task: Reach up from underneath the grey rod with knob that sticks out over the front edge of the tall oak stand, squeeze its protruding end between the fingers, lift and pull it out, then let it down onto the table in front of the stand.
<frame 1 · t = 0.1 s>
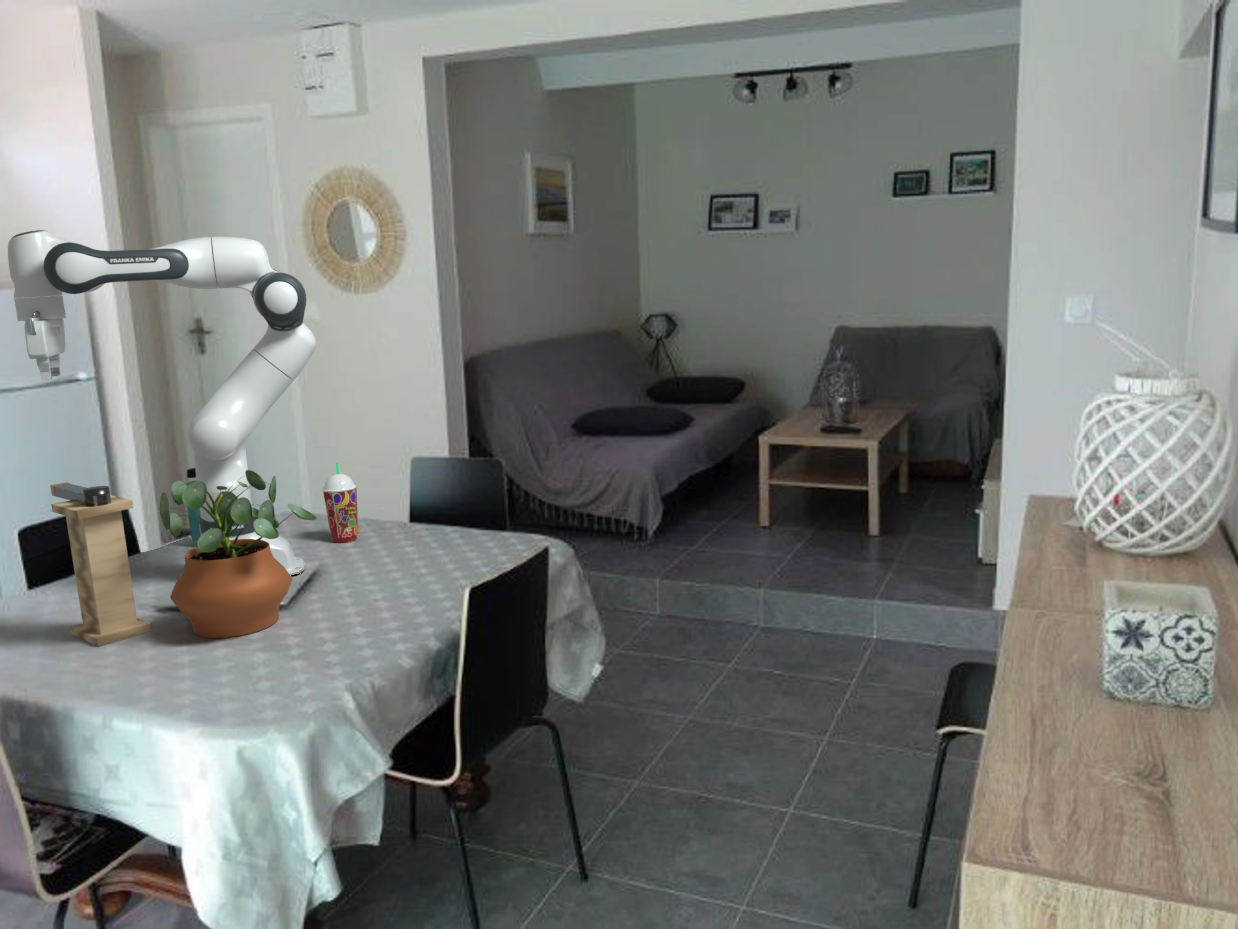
hand: (51, 377, 216), 48 cm above the table, tool pointing down, fingers open, 8 cm apart
potted plant: (252, 622, 202), on the table
beverage bottle: (205, 545, 265), on the table
stand: (111, 632, 200), on the table
smoothie: (345, 540, 262), on the table
grey rod with knob: (80, 499, 198), point 26 cm above the table, touching stand
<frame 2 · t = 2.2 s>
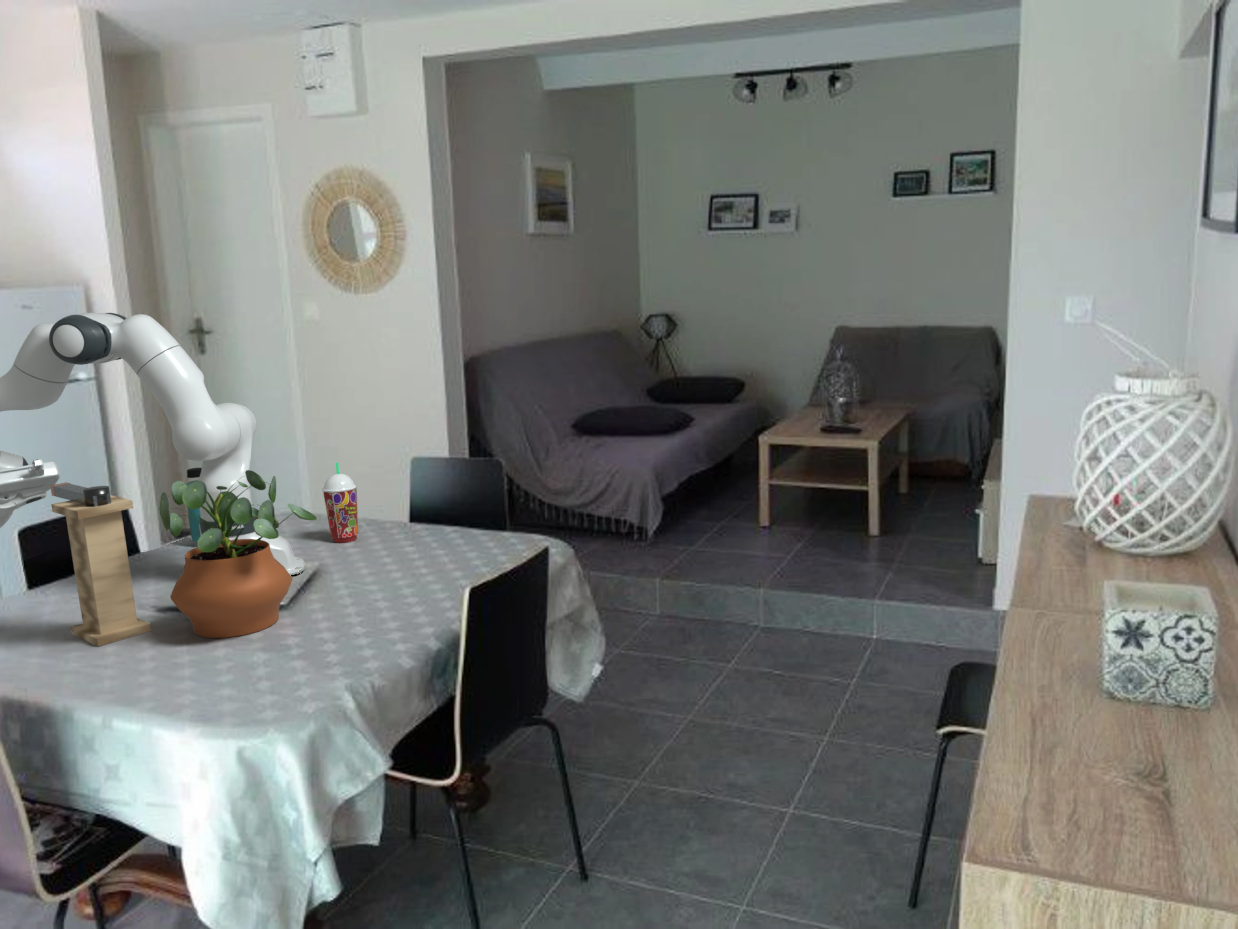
hand: (14, 466, 214), 30 cm above the table, tool pointing upward, fingers open, 8 cm apart
nothing on the table moved.
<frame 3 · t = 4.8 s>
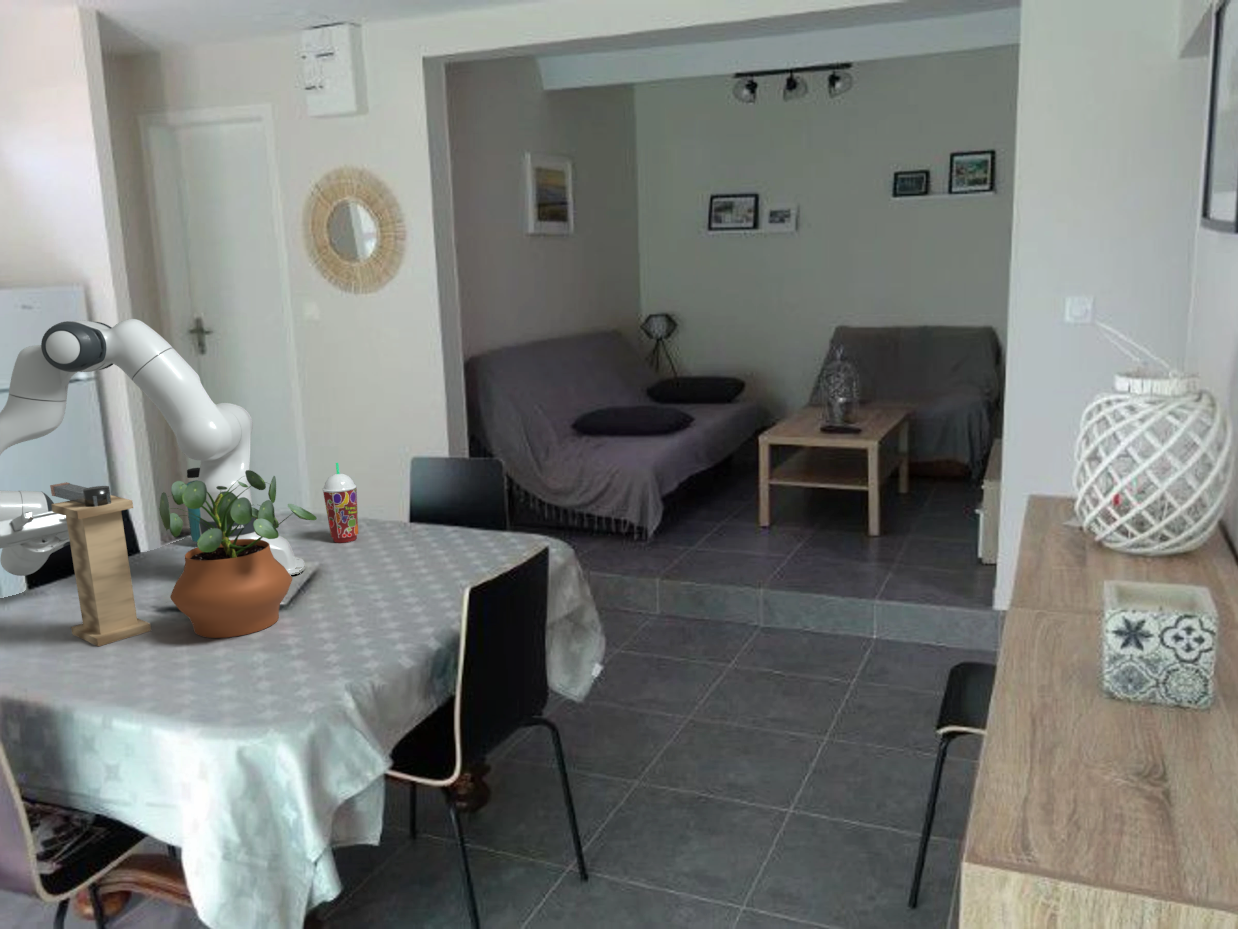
hand: (53, 510, 209), 22 cm above the table, tool pointing upward, fingers open, 8 cm apart
nothing on the table moved.
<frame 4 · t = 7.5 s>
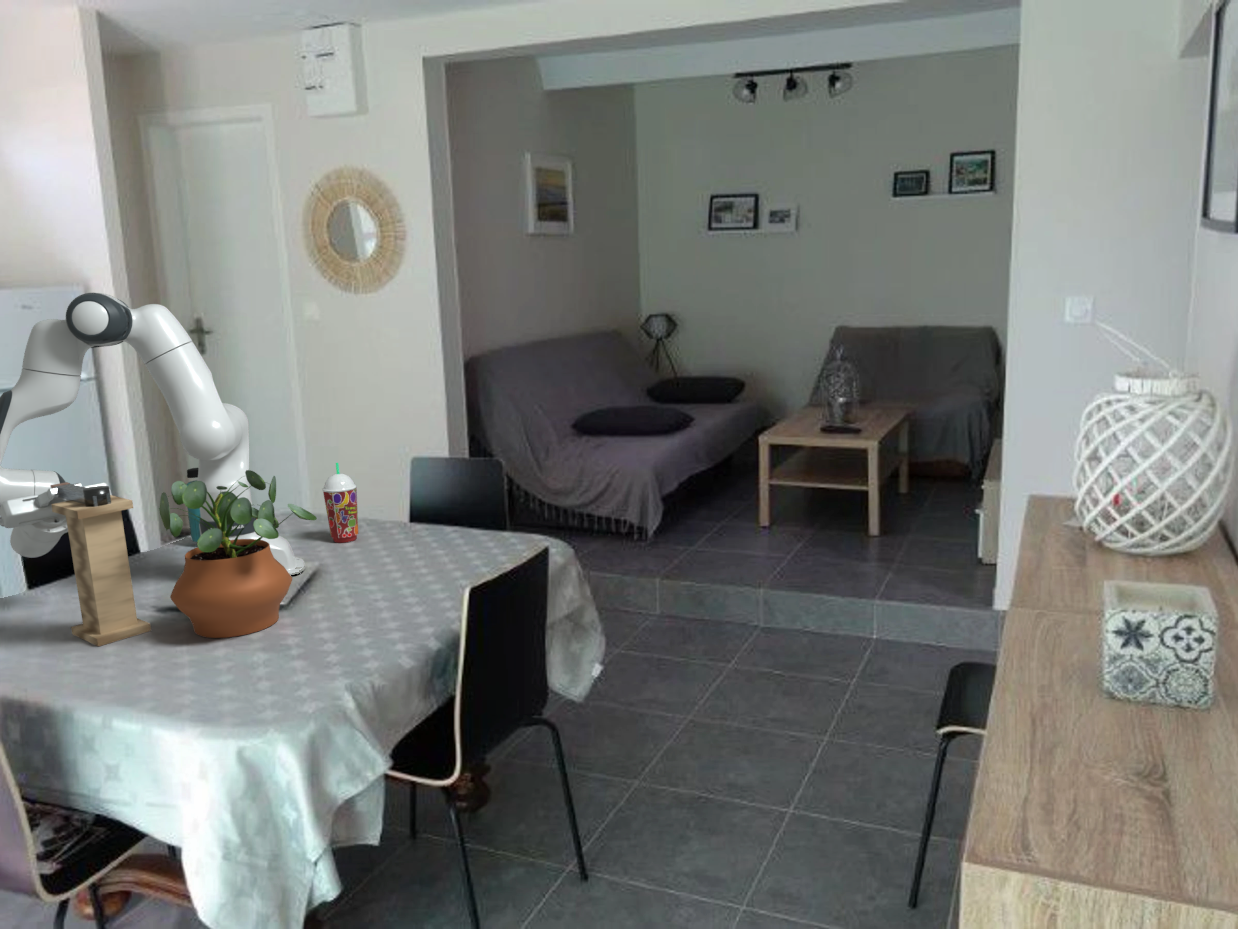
hand: (66, 488, 202), 27 cm above the table, tool pointing upward, fingers closed on grey rod with knob, 3 cm apart
grey rod with knob: (80, 499, 198), point 26 cm above the table, touching gripper, stand
everything else where it was.
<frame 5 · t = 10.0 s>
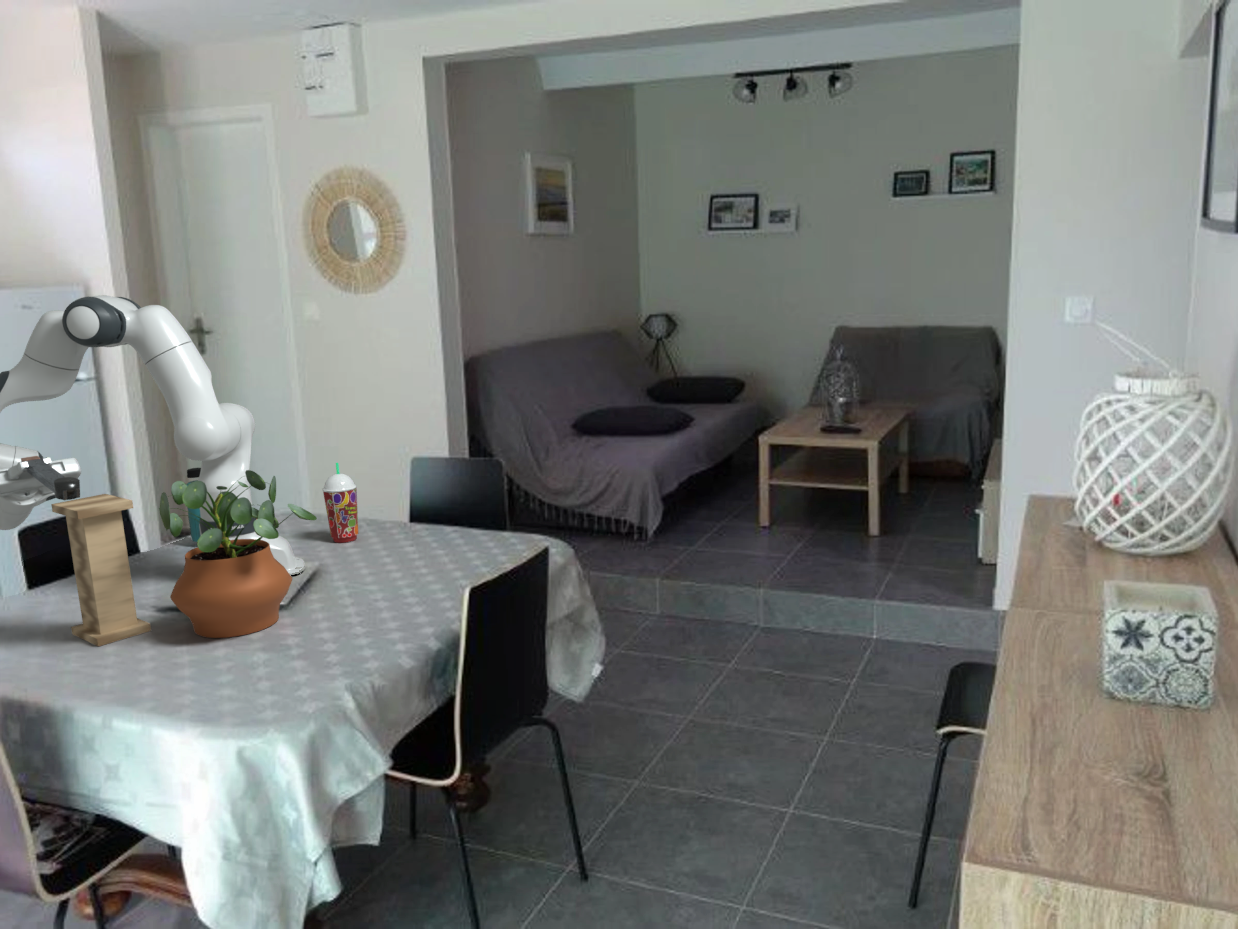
hand: (36, 462, 210), 32 cm above the table, tool pointing upward, fingers closed on grey rod with knob, 3 cm apart
grey rod with knob: (50, 482, 207), point 28 cm above the table, tilted 14°, touching gripper
everything else where it was.
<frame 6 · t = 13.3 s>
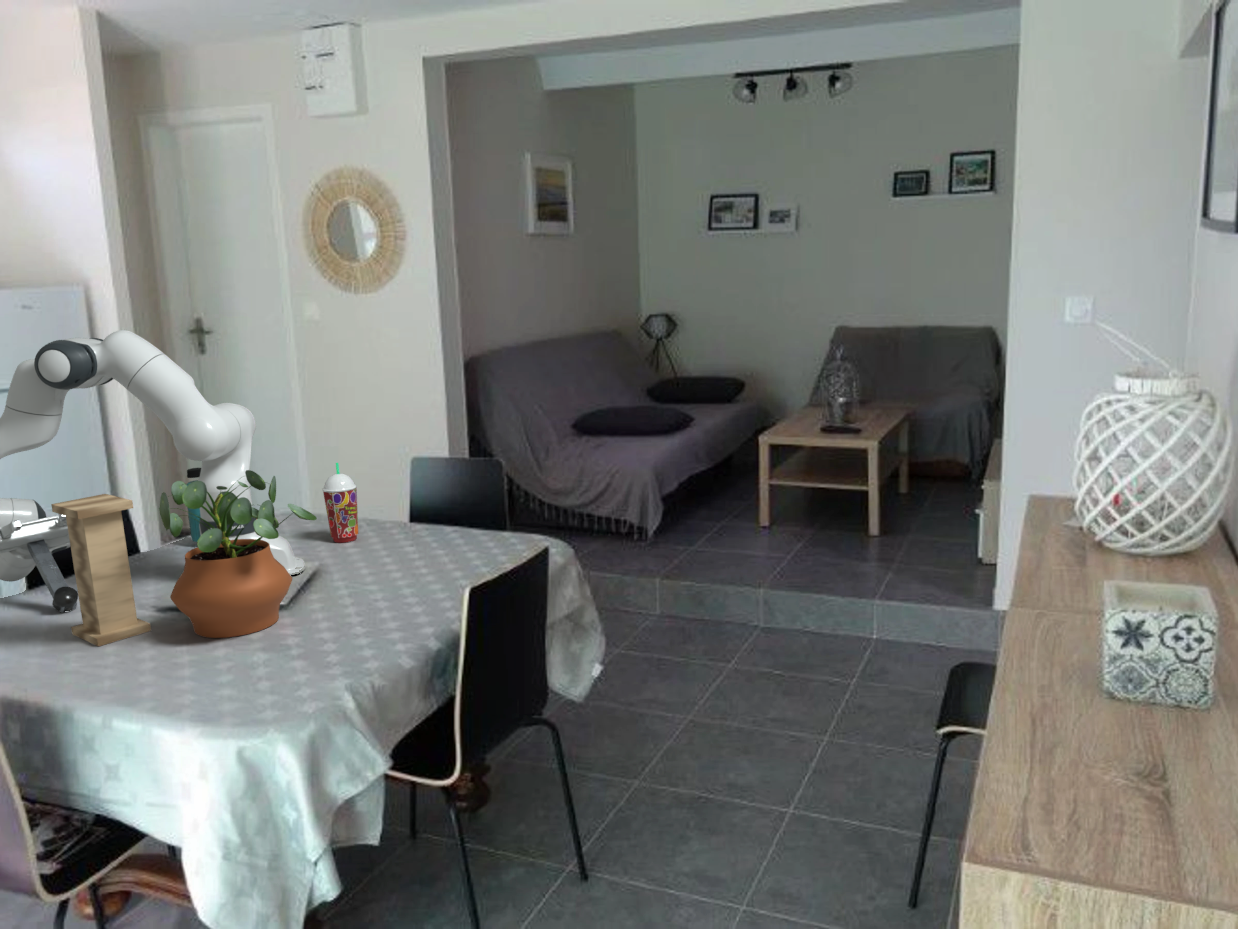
hand: (41, 518, 214), 19 cm above the table, tool pointing upward, fingers open, 8 cm apart
grey rod with knob: (49, 574, 218), point 7 cm above the table, tilted 42°, touching arm
everything else where it was.
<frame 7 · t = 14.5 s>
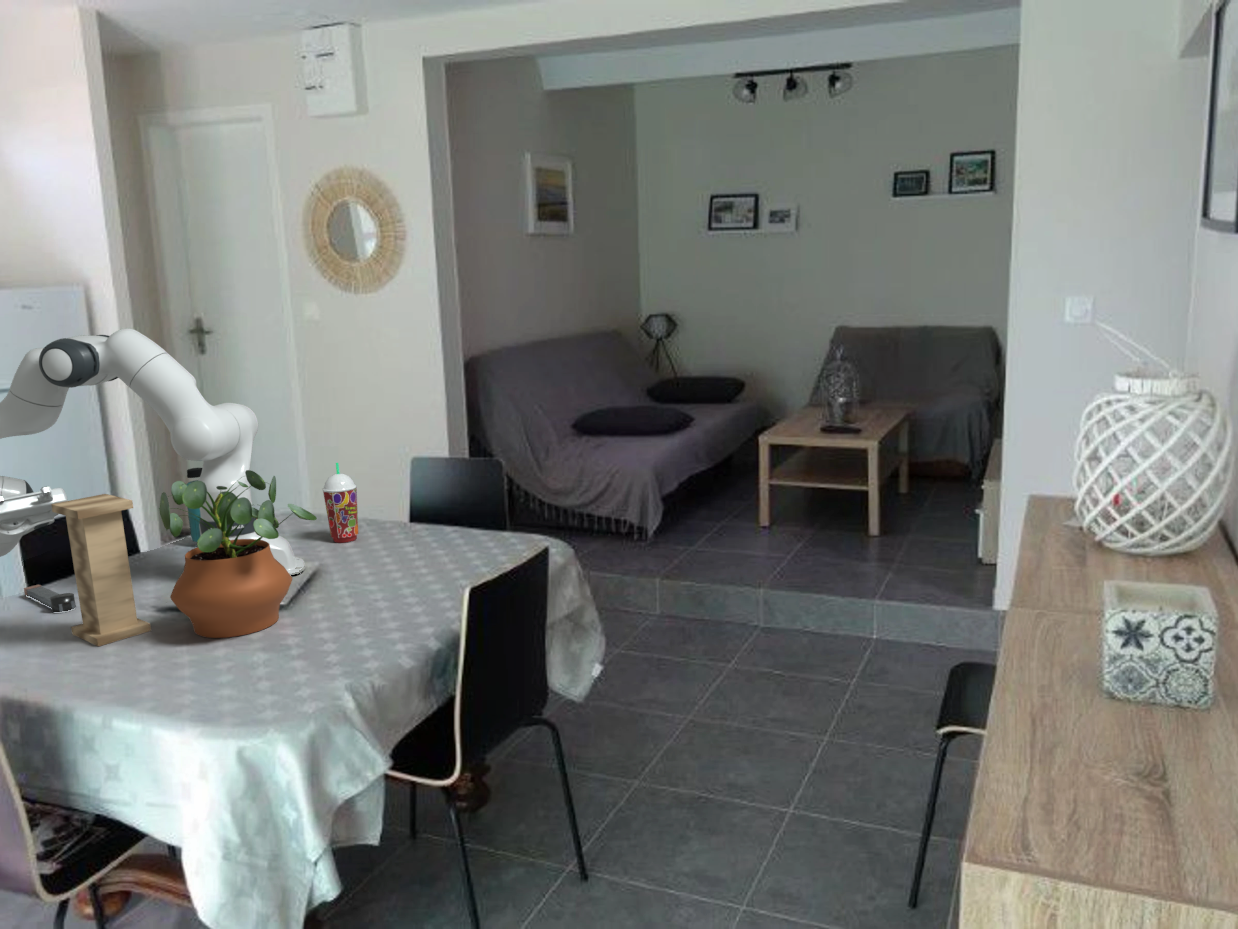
hand: (23, 493, 218), 24 cm above the table, tool pointing upward, fingers open, 8 cm apart
grey rod with knob: (49, 603, 222), on the table
everything else where it was.
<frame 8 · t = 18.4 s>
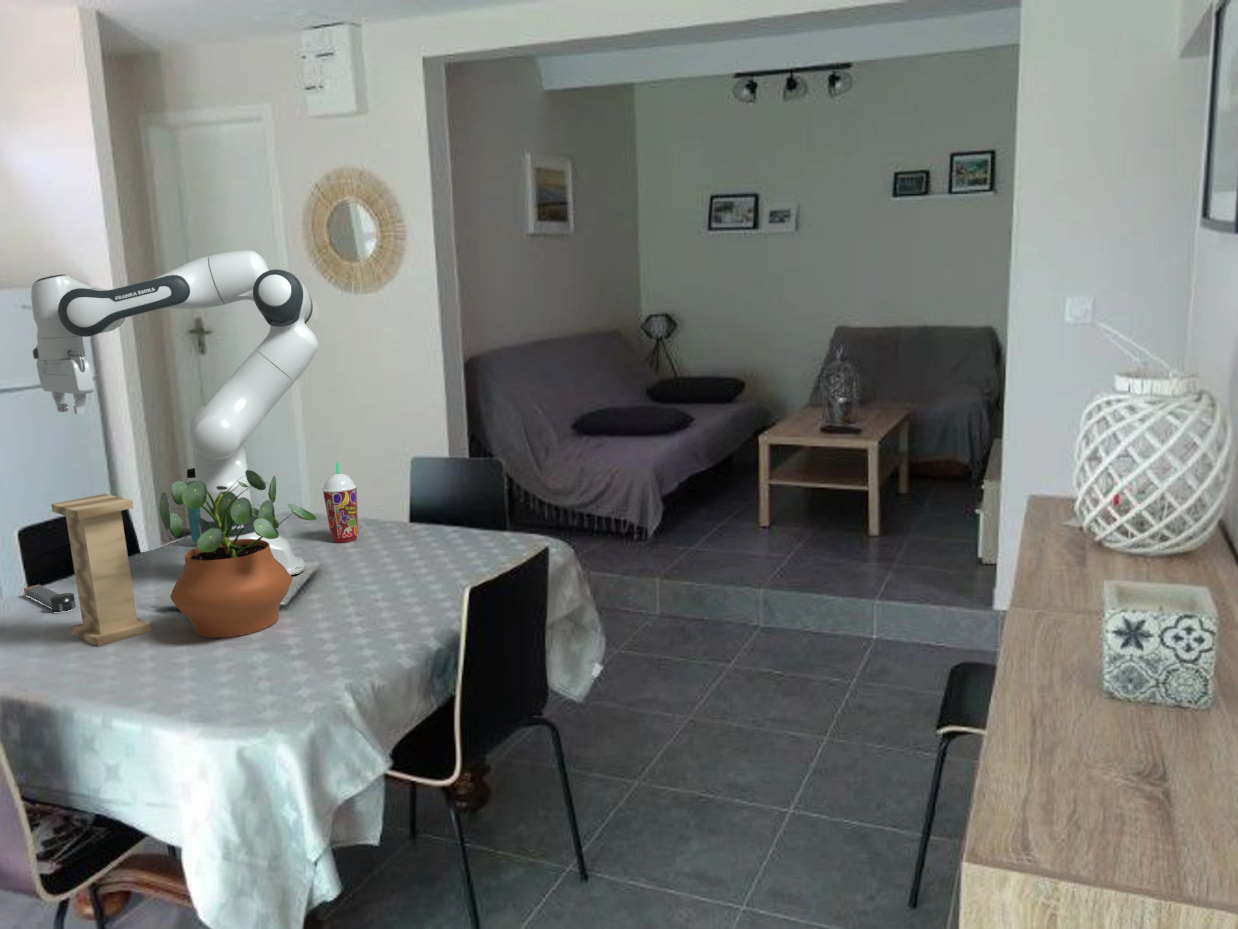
hand: (71, 412, 229), 39 cm above the table, tool pointing down, fingers open, 8 cm apart
nothing on the table moved.
at the end: grey rod with knob inside the target area (7.0 cm from its centre), on the table; grey rod with knob touching table; the gripper is holding nothing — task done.
